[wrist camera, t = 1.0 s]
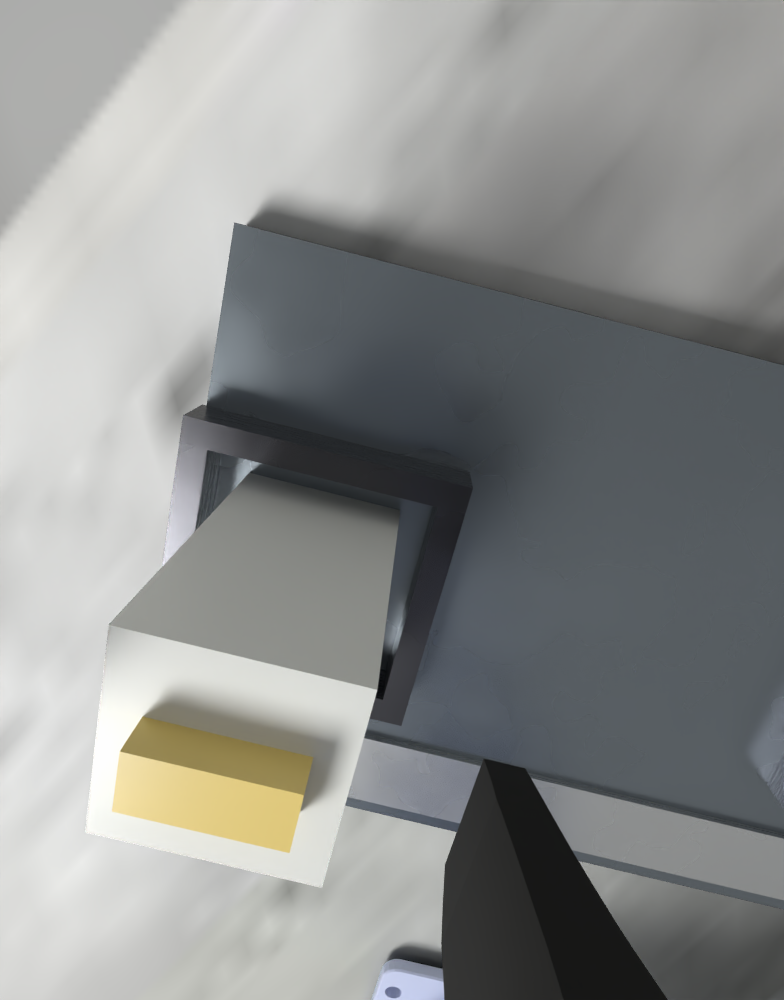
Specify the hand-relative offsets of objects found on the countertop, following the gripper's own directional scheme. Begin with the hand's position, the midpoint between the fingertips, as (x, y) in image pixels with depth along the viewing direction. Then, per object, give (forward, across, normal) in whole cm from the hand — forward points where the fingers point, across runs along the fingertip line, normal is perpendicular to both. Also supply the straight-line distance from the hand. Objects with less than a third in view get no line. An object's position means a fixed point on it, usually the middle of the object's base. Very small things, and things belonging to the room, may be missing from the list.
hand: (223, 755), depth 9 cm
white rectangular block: (+7, 0, 0) cm, 7 cm away
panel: (+8, -8, 0) cm, 11 cm away
